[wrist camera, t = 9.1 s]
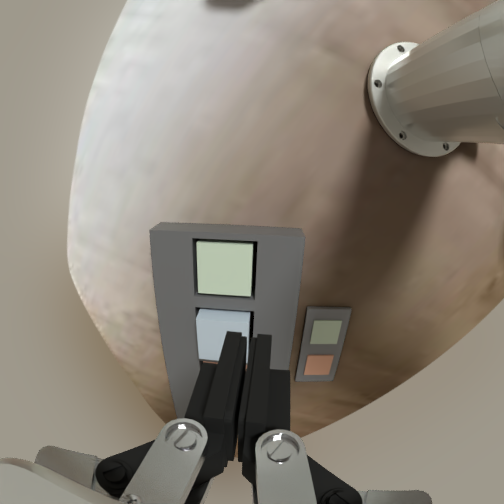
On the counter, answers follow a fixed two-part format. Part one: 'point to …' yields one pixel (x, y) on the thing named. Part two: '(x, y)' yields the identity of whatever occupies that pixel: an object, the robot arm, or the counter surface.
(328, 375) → the card
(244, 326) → the blue key
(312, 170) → the counter surface
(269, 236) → the keyguard frame
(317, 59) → the counter surface
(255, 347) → the robot arm
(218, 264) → the sage key
